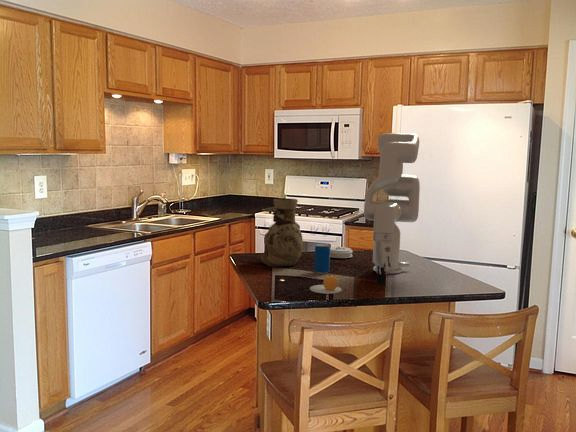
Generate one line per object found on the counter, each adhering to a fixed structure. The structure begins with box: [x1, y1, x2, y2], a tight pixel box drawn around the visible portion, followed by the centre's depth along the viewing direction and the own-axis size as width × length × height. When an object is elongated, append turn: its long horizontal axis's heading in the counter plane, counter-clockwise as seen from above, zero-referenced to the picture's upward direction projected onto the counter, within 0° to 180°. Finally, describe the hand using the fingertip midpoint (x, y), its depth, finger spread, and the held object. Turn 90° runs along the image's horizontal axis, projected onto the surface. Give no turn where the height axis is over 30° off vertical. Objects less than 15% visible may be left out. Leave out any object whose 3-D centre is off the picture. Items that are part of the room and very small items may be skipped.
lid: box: [329, 246, 354, 259], centre depth 255 cm, size 13×13×5 cm
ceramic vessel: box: [260, 198, 304, 268], centre depth 233 cm, size 19×21×30 cm
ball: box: [322, 275, 339, 290], centre depth 192 cm, size 6×6×6 cm
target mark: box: [309, 284, 343, 295], centre depth 193 cm, size 12×12×1 cm
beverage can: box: [313, 243, 331, 275], centre depth 220 cm, size 6×6×12 cm
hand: (380, 283), depth 198 cm, fingers closed
